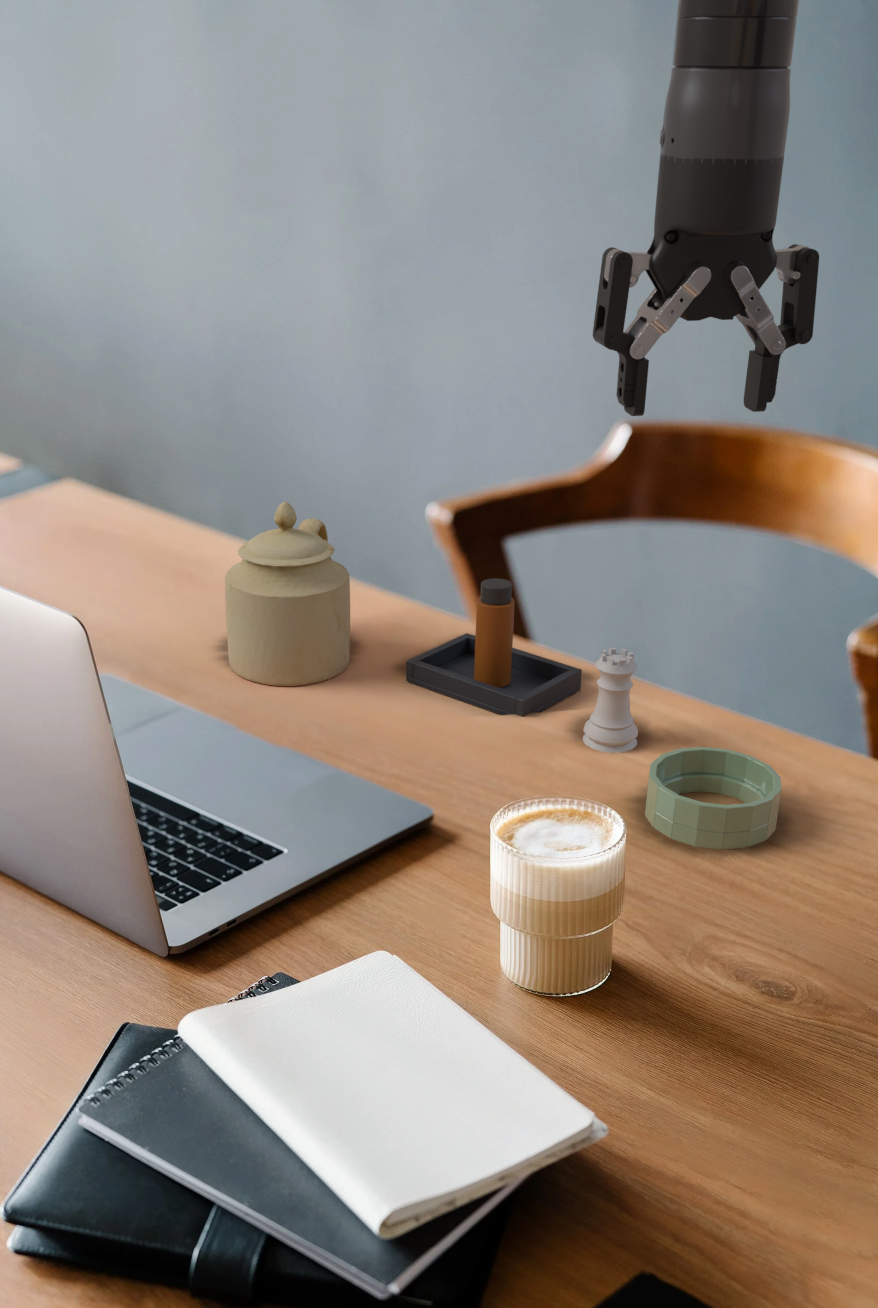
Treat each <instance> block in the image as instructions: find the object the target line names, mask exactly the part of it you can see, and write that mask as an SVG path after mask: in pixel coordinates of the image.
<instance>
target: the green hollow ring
mask: <svg viewBox="0 0 878 1308" xmlns="http://www.w3.org/2000/svg"><path fill="white" fill-rule="evenodd" d="M648 771H649V772H648V781H647V791H646V798H645V799H646V800H645V811H644V817H646V819H647V821H648V822H649V823H650V825H651V826H652V828H654V829H655V830H657V831H658V832H660V833H661V834H663V835H665V836H666V837H668V838H669V839H672V840H673V841H677V842H679V843H683V844H687V845H690V846H691V847H692V846H693V847H695V848H703V849H713V850H722V851H723V850H733V849H745V848H750V847H753V846H755V845H757V844H760V843H763V842H765V841H767V840H768V839H769V838H770V836H771V835H773V833H774V832H775V831H776V829H777V822H778V815H779V809H780V803H781V796H782V788H783V787H782V778H781V776H780V774H778V772H776V770H775V769H774V768H773V767H772V766H771V765H770V764H768V763H767V762H764V761H763V760H761V759H758V758H757V757H755V756H753V755H751V754H747V753H743V752H740V751H737V750H732V749H729V748H720V747H711V746H693V747H680V748H677V749H673V750H671V751H668V752H664V753H662V754H660V755H659V756H658V757H656V758H655V759H654V760H653V761H652V762H651V763H650V764H649V770H648ZM700 792H703V793H712V794H721V795H724V796H728V797H731V798H734V799H738V800H740V801H741V802H742V803H731V804H723V803H713V802H704V801H701V800H696V799H693V798H690V797H687V796H683V795H680V794H687V793H688V794H689V793H700ZM743 802H744V803H743Z"/></svg>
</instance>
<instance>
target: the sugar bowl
mask: <svg viewBox="0 0 878 1308" xmlns="http://www.w3.org/2000/svg"><path fill="white" fill-rule="evenodd" d="M273 517H274V518H273V520H274V523H275V524H276V526H277V527H278V528H274V529H269V530H265V531H263V532H261V533H258V534H256V535H254V536H253V537H252V538H251V539H249V540H248V541H245V542H244V543H243V544H242V545H241V546H240V547H239V548H238V549H237V555H238V556H239V558H241V559H242V560H240V562H238V563H236V564H234V565H232V566H231V567H230V568H229V569H228V570H227V571H226V573H225V576H224V589H225V590H224V599H225V600H224V601H225V602H224V605H225V621H226V622H225V623H226V625H225V626H226V640H227V652H228V653H227V655H228V662H229V663H228V664H229V667H230V669H231V671H232V672H233V673H235V674H236V675H237V676H238V675H239V676H238V677H240V678H242V679H244V680H247V681H250V682H253V683H257V684H262V685H266V686H276V687H295V686H296V687H297V686H307V685H314V684H318V683H321V682H323V681H324V682H325V681H328V680H331V679H332V677H333V678H335V677H337V676H338V675H340V674H341V673H343V672H344V671H345V670H346V669H347V667H348V665H349V664H350V655H351V654H350V653H351V651H350V649H351V582H350V581H351V580H350V579H351V578H350V573H349V570H348V569H347V567H345V566H344V565H343V564H342V563H340V562H338V561H335V560H333V559H332V555H334V554H335V550H336V549H335V547H334V545H333V544H331V542H329V538H328V537H329V535H328V531H327V527H326V525H325V523H324V522H323V521H322V520H320V519H318V518H305V519H303V520H302V521H301V522H300V523H299V526H298V528H295V527H294V526H295V525H296V523H297V520H298V516H297V514H296V510H295V508H294V507H293V506H292V505H291V503H290V502H288V501H283V502H281V503H280V504H279V505H278V507H277V509H276V510H275V513H274V516H273ZM345 668H346V669H345ZM344 669H345V670H344ZM343 670H344V671H343ZM342 671H343V672H342ZM336 675H337V676H336ZM334 676H335V677H334ZM327 679H328V680H327Z"/></svg>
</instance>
